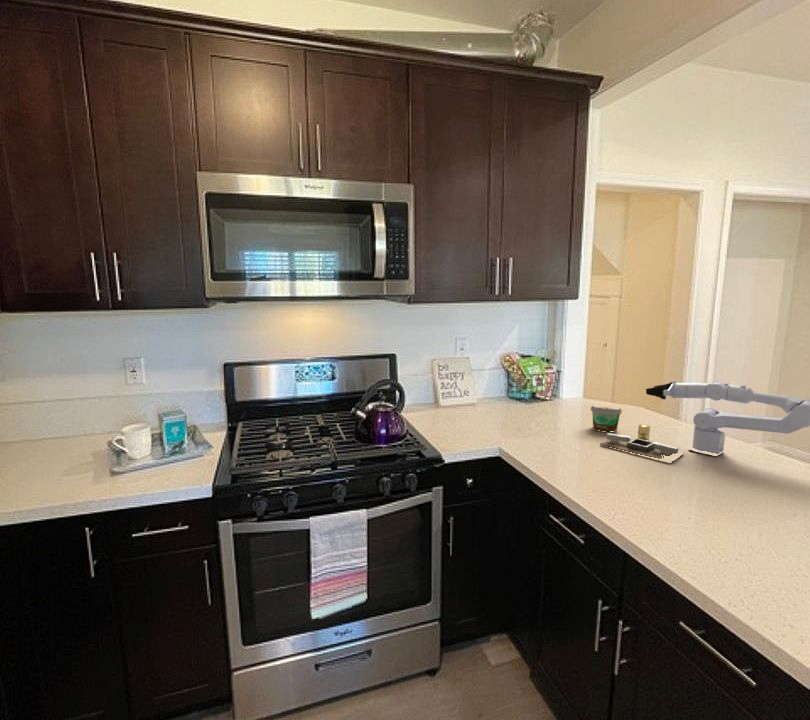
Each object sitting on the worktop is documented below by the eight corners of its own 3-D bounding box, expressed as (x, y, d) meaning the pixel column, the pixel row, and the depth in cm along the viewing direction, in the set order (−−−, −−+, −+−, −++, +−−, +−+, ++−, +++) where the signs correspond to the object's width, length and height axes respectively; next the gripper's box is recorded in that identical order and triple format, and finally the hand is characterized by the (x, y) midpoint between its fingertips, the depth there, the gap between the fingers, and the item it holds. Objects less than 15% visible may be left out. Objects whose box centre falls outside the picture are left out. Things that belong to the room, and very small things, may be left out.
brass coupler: (650, 440, 187) (651, 425, 186) (646, 442, 184) (647, 428, 183) (640, 438, 190) (641, 423, 189) (635, 440, 187) (637, 425, 186)
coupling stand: (683, 455, 171) (684, 444, 170) (669, 464, 163) (670, 453, 162) (615, 438, 190) (616, 428, 189) (600, 445, 181) (600, 435, 181)
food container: (587, 430, 199) (589, 408, 197) (589, 426, 204) (590, 404, 203) (619, 435, 193) (621, 411, 192) (620, 430, 199) (622, 408, 197)
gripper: (694, 377, 181) (656, 378, 191) (681, 382, 171) (642, 382, 181) (695, 395, 181) (657, 395, 191) (682, 401, 171) (643, 400, 181)
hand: (650, 390), depth 186 cm, fingers open, 7 cm apart
